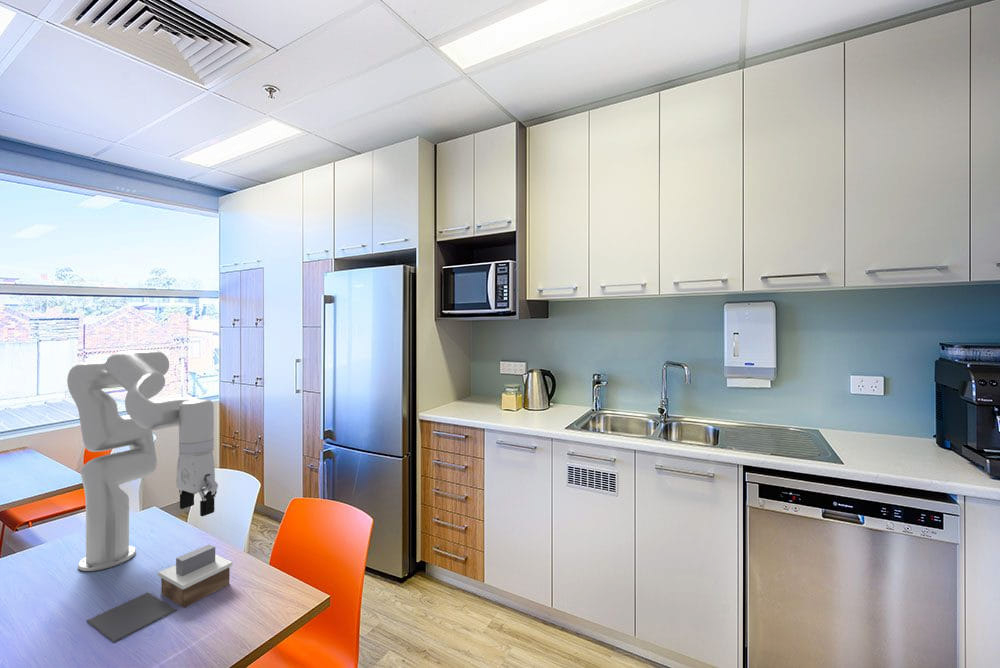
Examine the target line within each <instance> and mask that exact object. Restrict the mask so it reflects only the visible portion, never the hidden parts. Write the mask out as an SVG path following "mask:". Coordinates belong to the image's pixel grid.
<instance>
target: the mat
mask: <svg viewBox="0 0 1000 668" xmlns="http://www.w3.org/2000/svg"><path fill="white" fill-rule="evenodd" d="M176 611H177V609H176V608H175V607H173V606H172V605H170V604H169V603H167V602H165V601H163V600H161V599H160V598H158V597H156V596H155V595H153V594H152V593H149V592H146V593H143V594H141V595H139V596H137V597H135V598H133V599H130V600H128V601H126V602H123V603H121V604H119V605H116V606H115V607H112V608H111V609H109V610H107V611H104V612H102V613H99V614H97V615H95V616H92V617H91V618H89V619H87V620H86V623H88V624H89V625H90V626H92V627H93V628H94V629H96V630H97V631H98V632H99V633H101V634H102V635H103V636H104V637H106V638H108V639H109V640H110V641H111V642H113V643H117V642H119V641H120V640H122V639H124V638H126V637H128V636H130V635H132V634H134V633H136V632H138V631H139V630H141V629H143V628H146V627H148V626H149V625H151V624H153V623H155V622H157V621H159V620H161V619H164V617H168V615H171V614H173V613H174V612H176Z"/></svg>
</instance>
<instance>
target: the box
mask: <svg viewBox="0 0 1000 668" xmlns="http://www.w3.org/2000/svg"><path fill="white" fill-rule="evenodd" d="M230 569H231V567H229V568H227V569H225V570H223V571H221V572H219V573H216V574H214V575H212V576H210V577H208V578H206V579H204V580H202V581H200V582H198V583H196V584H194V585H192V586H190V587H187V588H185V589H181V588H179V587H177V586H175V585H173V584H172V583H170V582H168V581H166V580H164V579H162V578H161V577H160V578H161V579H160V582H161V583H160V584H161V590H160V592H161V593H160V595H161V596H163V597H164V598H166V599H168V600H170V601H171V602H173V603H175V604H176V605H178V606H180V607H182V608H183V609H185V608H186V607H189V606H191V605H192V604H194V603H197V602H199V601H201V600H202V599H203V598H206V597H208V596H210V595H211V594H215V592H218V591H219V590H221V589H223V588H225V587H228V586H229V585H230Z"/></svg>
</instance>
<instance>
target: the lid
mask: <svg viewBox="0 0 1000 668" xmlns="http://www.w3.org/2000/svg"><path fill="white" fill-rule="evenodd" d="M233 564H234V562H232V561H231V560H229V559H226V558H224V557H223V556H220V555H218V554H216V546H214V545H212V544H210V543H209V544H207V545H203V546H201V547H198V548H197V549H194V550H192V551H189V552H187V553H185V554H182V555H180V556H177V557H176V559H175V565H172V566H170V567H167V568H165V569H162V570H160V571H158V572H157V574H158V575H157V576H158V577H159V578H162V579H164V580H166V581H168V582H170V583H172V584H173V585H175V586H177V587H179V588H181V589H185V588H187V587H190V586H192V585H194V584H196V583H198V582H200V581H202V580H204V579H206V578H208V577H210V576H212V575H214V574H216V573H219V572H221V571H223V570H225V569H227V568H229V567H230V568H231V567H233Z"/></svg>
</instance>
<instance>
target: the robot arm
mask: <svg viewBox="0 0 1000 668" xmlns="http://www.w3.org/2000/svg"><path fill="white" fill-rule="evenodd" d="M169 368H170V361H169V358H168V357H167V355H166V354H164V353H163V352H162V351H160V350H154V349H149V350H146V349H145V350H144V349H143V350H126V351H118V352H116V353H113V354H111V355H110V356H108V358H106V359H105V360H95V361H86V362H81V363H78V364H75V365H74V366H72V368H70V370H69V371H68V374H67V379H66V380H67V381H66V382H67V383H66V385H67V389H68V391H69V394H70V396H71V397H72V399H73V401H74V403H75V405H76V407H77V410H78V417H79V424H80V430H81V437H82V441H83V445H84V447H85V449H86V450H87V451H89V452H92V453H96V452H97V453H99V452H104V451H110V450H115V449H120V448H124V447H129V450H124V451H118V452H114V453H109V454H104V455H102V456H101V455H100V456H98V457H95V458H92V459H91V460H89V461H87V462H86V463H85V464H84V465H83V466H82V468H81V470H80V471H81V472H80V478H81V482H82V486H83V491H84V496H85V497H84V498H85V557H83V558H82V559H81V560H79V562H78V564H77V565H78V570H80V571H82V572H94V571H95V572H96V571H101V570H105V569H110V568H113V567H115V566H119V565H120V564H123V563H125V562H127V561H129V560H130V559H132V558H133V557H134V556H135V555H136V547H135V546H132V545H130V498H129V495H128V494H127V492H125V490H123V489H121V487H120V486H121V485H123V484H126V483H130V482H133V481H137V480H139V479H142V478H145V477H149V476H151V475H152V474H153V473H154V472H155V470H156V469H157V465H158V459H157V454H156V453H157V452H156V445H155V441H154V440H155V439H154V433H153V431H158V430H163V429H167V428H168V429H169V428H172V427H178V457H177V466H176V482H175V483H176V488H178V494H179V509H181V510H183V509H187V508H189V507H192V506H194V505H195V495H197V494H198V493H199V494H198V495H199V496H200V499H201V500H199V515H200V517H205V516H208V515H211V514H213V513H215V498H216V495H217V494H218V493H217V492H218V491H217V490H218V488H219V484H218V483H217V481H216V474H215V473H216V470H215V460H214V454H213V451H214V449H215V439H214V438H215V437H214V436H215V433H214V431H215V430H214V429H215V428H214V427H215V425H214V423H215V422H214V421H215V420H214V419H215V416H214V415H215V413H214V410H215V409H214V406H215V405H214V402H213V401H212V400H211V399H199V398H197V397H194V396H184V397H183V396H182V397H176V398H175V397H174V398H167V399H160V400H158V399H157V400H153V401H152V400H150V399H152V398H153V397H155V396H156V395H159V393H160V392H161V391H162V390H163V389H164V387H165V385H166V378H165V375H166V374H167V373H168V371H169V370H170V369H169ZM112 388H113V389H115V388H124V389H125V390H126V391H127V393H126V395H125V398H124V407H125V411H126V414H127V415H122V416H120V414H119V411H118V404H117V402H116V399H114V398H113V397H112V396H111V395H110V394H109V393H107V392H105V390H103V389H112ZM205 492H206V493H205Z"/></svg>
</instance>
